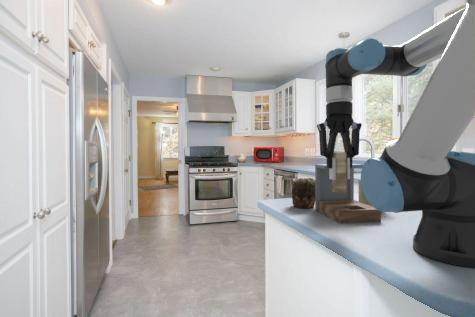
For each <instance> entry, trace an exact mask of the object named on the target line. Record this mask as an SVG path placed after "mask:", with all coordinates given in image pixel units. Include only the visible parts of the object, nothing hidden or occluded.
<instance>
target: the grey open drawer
mask: <svg viewBox="0 0 475 317" xmlns="http://www.w3.org/2000/svg"><path fill="white" fill-rule="evenodd" d="M363 165H364V164H360V163H352V168H350V179H346V192H344V193H338V192H333V180H332V179H329V168H327V163H315V166H314V167H315V170H314V172H315V173H314V179H315V205H314V207H315V208H314V209H315V211H316V212H319V201H329V200H355V198H354V195H355V193H354V191H355V190H354V189H355V188H354V187H355V186H354V185H355V184H354V182H355V181H354V180H355V179H354V178H355V176H354V174H355V172H354V169H362V167H363Z"/></svg>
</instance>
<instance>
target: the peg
mask: <svg viewBox="0 0 475 317" xmlns="http://www.w3.org/2000/svg"><path fill="white" fill-rule="evenodd" d="M332 158H336V180H333V192H338V193H344V192H346V153H345V152H334V154H333V157H332Z"/></svg>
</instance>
